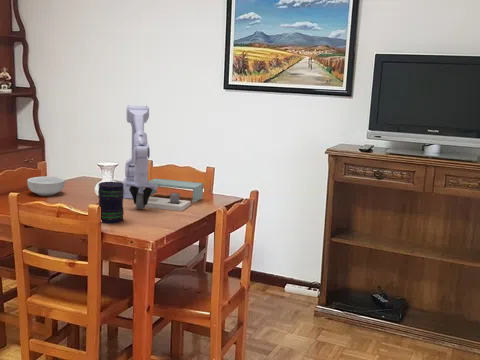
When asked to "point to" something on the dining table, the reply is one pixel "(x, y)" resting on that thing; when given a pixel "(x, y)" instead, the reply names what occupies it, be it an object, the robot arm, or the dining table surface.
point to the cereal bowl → (46, 185)
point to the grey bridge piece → (180, 186)
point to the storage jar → (111, 202)
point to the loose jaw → (140, 200)
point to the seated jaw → (174, 198)
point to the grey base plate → (166, 204)
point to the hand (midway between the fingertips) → (140, 204)
